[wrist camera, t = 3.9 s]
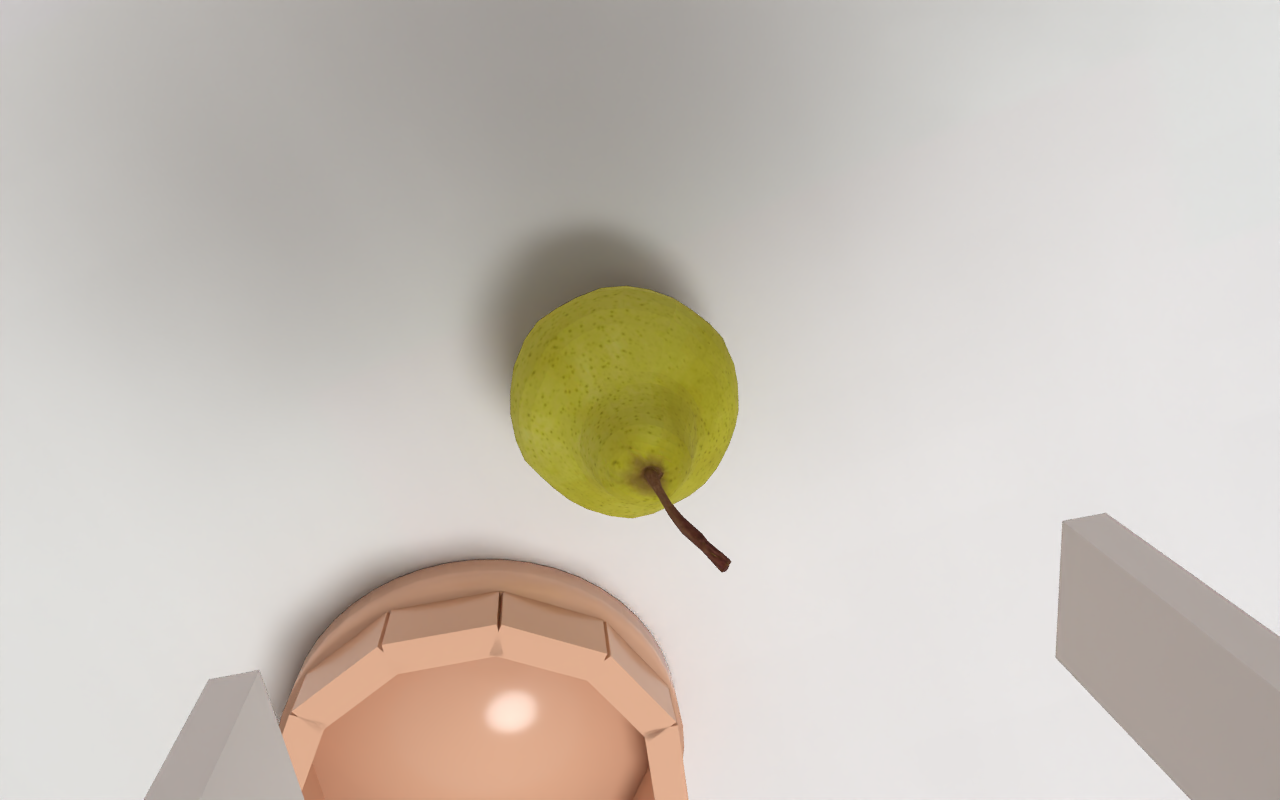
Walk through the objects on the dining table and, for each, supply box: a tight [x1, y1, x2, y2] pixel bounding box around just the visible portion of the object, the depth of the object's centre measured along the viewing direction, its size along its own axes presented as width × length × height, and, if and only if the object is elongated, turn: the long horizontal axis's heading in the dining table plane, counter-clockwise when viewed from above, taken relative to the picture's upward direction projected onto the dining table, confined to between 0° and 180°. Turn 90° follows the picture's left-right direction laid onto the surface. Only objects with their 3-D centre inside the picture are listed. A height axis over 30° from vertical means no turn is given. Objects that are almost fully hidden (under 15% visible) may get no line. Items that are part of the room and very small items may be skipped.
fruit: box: [510, 286, 738, 572], centre depth 24 cm, size 7×7×12 cm
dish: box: [279, 560, 688, 800], centre depth 32 cm, size 15×15×4 cm
